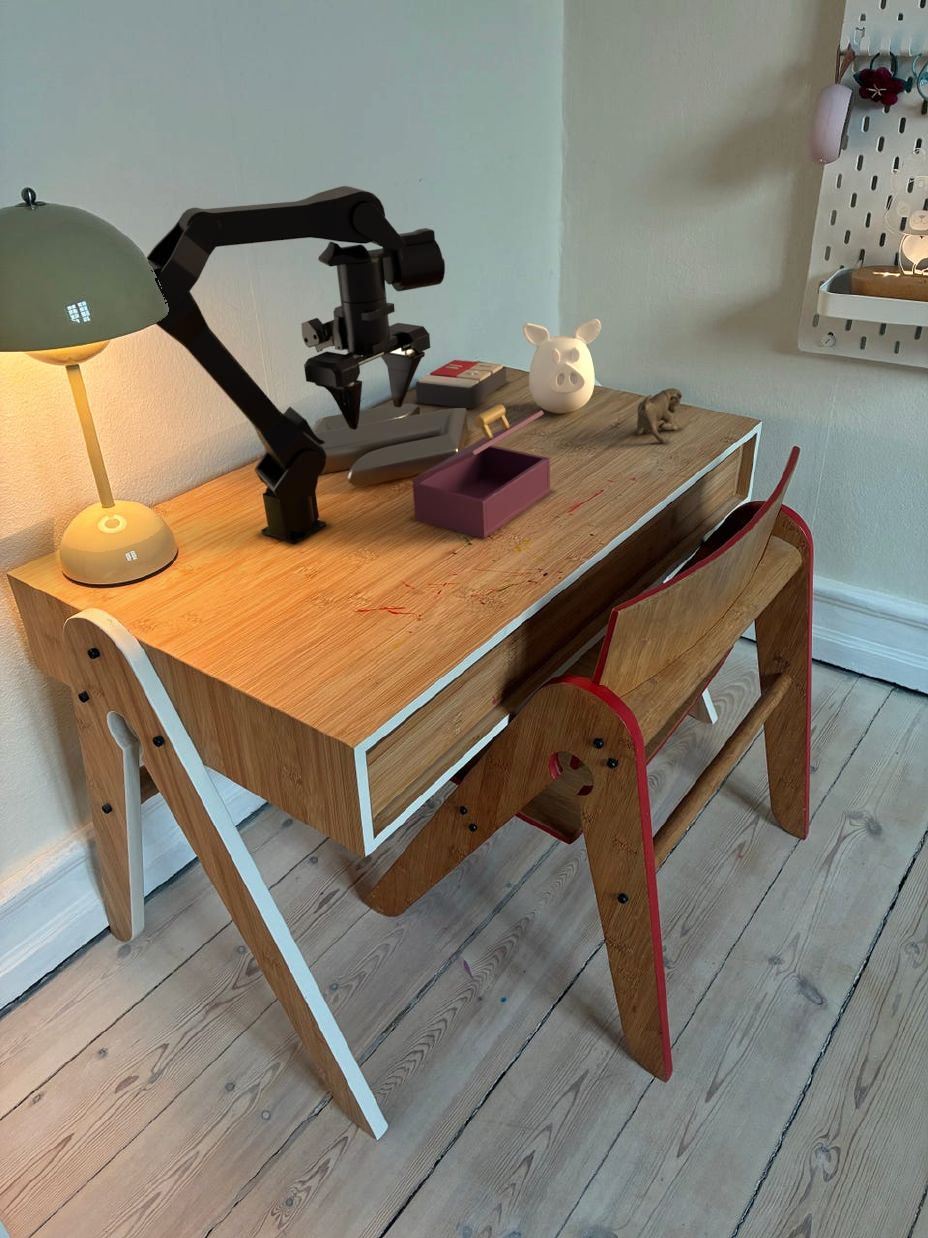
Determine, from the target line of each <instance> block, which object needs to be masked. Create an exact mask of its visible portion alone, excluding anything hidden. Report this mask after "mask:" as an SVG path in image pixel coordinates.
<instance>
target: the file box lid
mask: <svg viewBox="0 0 928 1238" xmlns="http://www.w3.org/2000/svg"><path fill="white" fill-rule="evenodd" d="M505 415H506V408H505V406H504V405H502V404H496V405H495V406H493V407H491V408H489V409H487V410H486V411H484V412H482V413H480V414H479V415H476V416H475V417H474V420H473V421H474V425H475V427H476V428H478V429H480V430H481V431H482V433H483V435H484V437H482V438H480V439H479V440H476V441H475V442H474V443H472V444H470V445H468V446H467V447H464V448H463V450H461V451H460V452H458V453H456V454H455V455H453V456H451V457H449V458H448V459H446V460H444V461H443V462H441V463H439V464H437V465H436V466H434V467H432V468H431V469H429V470H427V471H425V472H424V473H422V474H418V475H416V476H414V477H413V478H412V479H411V482H412V485H413V484H414V483H416V482H418V481H420V480H423V479H425V478H427V477H429V476H431V475H433V474H436V473H438V472H440V471H442V470H444V469H446V468H449V467H451V466H453V465H455V464H457V463H459V462H462V461H464V460H466V459H468V458H470V457H472V456H474V455H476V454H478V453H480V452H481V451H483V450H485V449H486V448H488V447H490V446H491V445H492V446H494V445H495V444H496V443H497V442H499V441H502V440H504V439H505V438H506V437H508V436H510V435H512V434H513V433H514V432H517V431H518V430H520V429H521V428H523V427H524V426H526V425H528V424H529V423H531V422H533V421H535V420H536V419H539V418H540V417H541V416H543V415H544V412H543V409H541V410H539V411H537V412H535V413H532V414H531V415H528V416H526V417H523V418H522V419H520V420H518V421H515V422H513V423H512V424H509V422H508V420H507V417H506V416H505ZM495 421H499V423H500V425H501V427H502V428H501V429H499V430H497V431H495V432H493V433H492V431H491V429H490V427H489V425H490V424H491V423H494V422H495Z"/></svg>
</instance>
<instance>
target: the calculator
mask: <svg viewBox="0 0 928 1238" xmlns="http://www.w3.org/2000/svg"><path fill="white" fill-rule="evenodd" d="M506 384H507V367H506V366H504V365H503V364H501V363H492V362H481V361H479V362H478V363H477V361H472V360H460V359H453V360H451V361H449V362H448V363H446V364H444V365H442V366H440V367H439V368H436V369H435V370H433V371H431V372H430V373H429V374H428V375H426V376H424V377H422V378H420V379H419V380H417V381H416V382H415V394H416V402H417V403H419V404H428V405H434V406H435V405H437V406H443V407H453V408H466V409H474V408H475V407H477V406H478V405H479V404H481V403H482V401H483V399H484V398H486V397H487V396H489V395H490V394H492V393H493V392H495V391H496V390H498V389H499V388H501V387H502V386H504V385H506Z"/></svg>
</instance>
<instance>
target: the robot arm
mask: <svg viewBox="0 0 928 1238" xmlns="http://www.w3.org/2000/svg"><path fill="white" fill-rule="evenodd" d="M311 238H312V239H321V240H327V241H329V242H328V244H327V246H326V248H325V250H323V251H322V252H321V254H320V255H318V257H317V258H318V259H317V260H318V261H319V263H322V264H324V265H326V266H328V267H336V273H337V282H338V283H337V284H338V289H339V298H340V300H339V301H340V305H339V306H337V307H334V310H333V319H331V320H329V321H327V322H324V323H323V322H322V321H321V320H320V319H319V318H318V317H315V318H312V319H310V320H306V321H304V322H302V323H301V324H300V325H301V337H302V340H303V342H304V345H305V347H307V348H308V349H310V348H313V347H314V348H315V351H316V353H318V354H317V355H314V356H312V357H309V358H308V359H306V361H305V362H304V364H303V369H304V375H305V381H306V382H308V383H313V384H314V385H315V386H317V387H320V388H321V387H322V388H324V389H326V390H327V391H328V392H329V393H330V395H331V396H332V398H333V400H334V401H335V403H336V405H337V407H338V409H339V410H340V412H341V414H343V416H344V418H345V420H346V422H347V424H348V426H349V428H350V429H354V430H356V429H357V428H358V422H359V414H360V411H361V404H362V403H361V402H362V391H363V380H360V379H359V377H360V374H361V367H360V366H362V365H365V364H367V363H369V362H372V361H374V360H376V359H379V358H381V359H382V360H383V363H385V365H386V368H387V372H388V373H387V375H388V380H389V387H390V394H391V400H392V405H394V406H395V407H398V408H400V407H402V404H404V402H405V399H406V396H407V393H408V391H409V388H410V386H411V384H412V381H413V378H414V376H415V373H416V371H417V370H418V367H419V365H420V362H421V361H422V359H423V358H425V355H426V352H425V351H426V350H428V349H431V337H430V333H429V332H428V330H427V329H426V327H424V326H423V325H416V324H410V323H402V322H396V323H394V324H391V325H390V321H389V315H391V314H393V313H395V311H396V310H395V303H392V302H388V300H387V290H386V284H387V285H391V287H392V288H393V289H394V290H395V291H396V292H404V291H410V290H416V289H422V288H427V287H434V286H437V285H441V284H442V283H443V281H444V279H445V273H446V264H445V263H446V261H445V258H443V253H442V250H441V248H440V246H439V243H438V242H437V241H436V234H435V230H434V229H431V228H427V227H424V228H418V229H416V230H413V231H410V232H403V233H398V231H397V230H396V229H395V227H394V226H392V224H391V223H390V221H389V220H388V219H387V217H386V213H385V207H384V205H383V203H382V201H381V199H380V198H379V197H378V196H376V195H375V194H374V193H373V192H370V191H367V190H363V189H360V188H356V187H353V186H349V185H342V186H337V187H335V188H331V189H327V190H324V191H319V192H317V193H316V194H313V195H311V196H309V197H306V198H303V199H300V200H296V201H285V202H274V203H262V204H252V205H251V204H250V205H249V204H248V205H236V206H226V207H214V208H200V207H191V208H187V209H186V210H185V211H184V212H183V213H182V214H181V215H180V217H179V219H178V220H177V222H176V223H175V224H174V225H173V227H172V228H170V230H169V231H168V232H167V233H166V234H165V235H164V236H163V237H162V238H161V239H160V240H159V241H158V242H157V243H156V245H154V247H153V248H152V249H151V250H150V253H148V255H147V256H146V258H147V259H148V263H149V264H150V266H152V268H153V270H154V272H155V274H156V276H157V278H155V281H156V283H157V285H158V287H159V289H160V291H161V293H162V295H163V294H164V295H163V297H165V298H164V300H165V299H166V300H167V302H165V304H166V303H168V307H169V312H168V315H167V316H166V317H165V318H163V319H162V320H161V321H159V322H157V323H156V324H155V325H156V326H158V327H159V328H160V329H161V330H163V331H164V332H165V333H166V334H167V335H169V336H170V338H171V337H172V339H174V340H175V341H177V342H178V343H179V344H180V345H182V346H183V348H184V349H185V350H186V351H187V352H188V353H189V354H190V355H191V356H192V357H193V359H194V360H195V361H196V362H197V363H198V364H199V365H200V367H201V368H202V369H203V370H204V371H205V373H207V375H208V376H209V377H210V378H211V379H212V380H213V381H214V383H215V384H216V385H217V386H218V387H219V388H220V390H222V391H223V393H224V394H225V395H226V396H227V397H228V398H229V399H230V401H231V402H232V403H233V404H234V405H235V406H236V408H237V409H238V410H239V412H241V413H242V414H243V415H244V417H245V418H246V419H247V420H248V421H249V422H250V423H251V425H252V426H253V428H254V431H255V432H256V435H257V436H258V438H259V440H260V442H261V444H262V446H263V447H264V448H265V450H266V452H265V453H264V455H263V456H262V458H260V460H259V461H258V463H257V465H255V467H254V472H255V473H256V476H257V477H258V479H259V480H260V481H261V483H262V484H264V485H265V486H266V489H265V492H263V493H262V494H261V495H262V500H263V505H264V512H265V518H266V522H267V523H266V524H267V526H266V527H263V528H262V529H260V533H261V535H264V536H266V537H269V538H272V539H275V540H279V541H281V542H285V543H288V544H291V545H297V544H299V543H300V542H302V541H304V540H306V539H308V538H309V537H311V536H312V535H314V534H316V533H318V532H319V531H321V530H323V529H325V528H326V527H328V524H327V523H328V522H326V521H325V520H324V521H323V520H321V519H319V518H320V513H319V507H318V501H317V499H318V498H317V493H316V491H317V487H318V482H319V477H320V475H322V474H321V473H322V471H323V469H324V467H325V463H326V458H327V456H326V453H325V451H324V449H323V447H322V446H321V445H320V444H324V443H325V442H324V441H323V440H322V439H321V438H320V437H319V436H318V435H317V434H315V433H314V432H313V431H312V428H311V426H310V424H309V422H308V421H307V419H306V418H304V417H303V415H301V414H300V413H299V412H297V411H296V410H295V409H294V408H292V406H289V407H288V408H287V409H286V410H285V412H284V413H283V412H282V411H280V410H279V409H278V408H277V406H276V405H275V403H274V402H273V401H272V400H271V399H270V398H269V397H268V395H267V394H266V393H265V391H264V390H263V389H262V388H261V387H260V386H259V385H258V384H257V382H256V381H255V380H254V379H253V378H252V377H251V375H250V374H249V373H248V372H247V371H246V370H245V368H244V367H243V366H242V365H241V363H240V362H239V361H238V360H237V359H236V358H235V357H234V355H233V354H232V353H231V352H230V351H229V349H228V348H227V347H226V346H225V344H224V343H222V341H221V340H220V338H219V337H218V336H216V334H215V333H214V331H213V330H211V328H210V327H209V325H208V323H207V321H206V319H205V317H204V315H203V313H202V311H201V309H200V307H199V305H198V302H197V301H196V300H195V297H194V296H193V294H192V293H191V290H192V289H193V288H194V287H195V285H196V284H197V282H198V281H199V279H200V277H201V275H202V273H203V270H204V268H205V266H206V264H207V263H208V260H209V258H210V257H211V255H212V253H213V252H214V251H215V249H216V248H217V247H218V248H219V247H229V246H238V245H248V244H257V243H258V244H259V243H267V242H268V243H269V242H277V241H286V240H287V241H290V240H298V239H311ZM336 242H340V243H341V242H342V243H352V244H354V245H347V246H341V245H339V244H338V243H336ZM369 243H371V244H374V245H376V246H379V247H381V248H376V249H367V248H366V247H365V244H369ZM363 244H364V245H363ZM151 271H152V270H151ZM152 272H153V271H152ZM158 280H159V282H160V284H161V286H160V285H159V282H158ZM161 287H162V289H161ZM330 347H334V350H336V351H344V350H345V351H347V353H345V354H344V353H339V352H333V351H327V350H326V351H324V352H322V351H323V350H324V349H327V348H330ZM320 352H322V353H320Z"/></svg>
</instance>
